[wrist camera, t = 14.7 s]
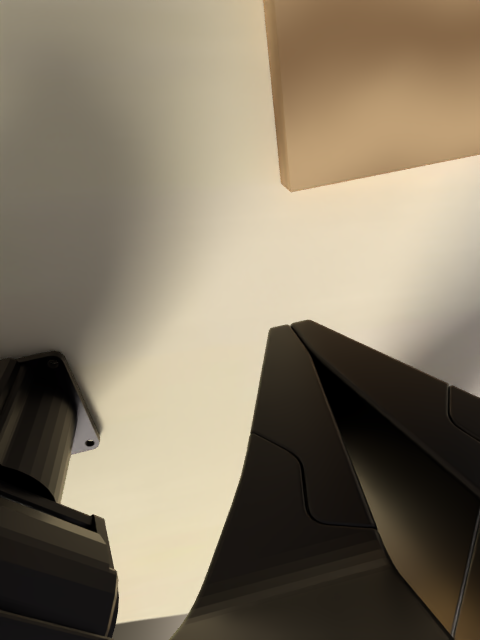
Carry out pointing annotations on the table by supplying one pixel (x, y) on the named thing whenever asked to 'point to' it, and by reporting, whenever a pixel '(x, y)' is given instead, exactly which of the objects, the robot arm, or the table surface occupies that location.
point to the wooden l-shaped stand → (372, 86)
